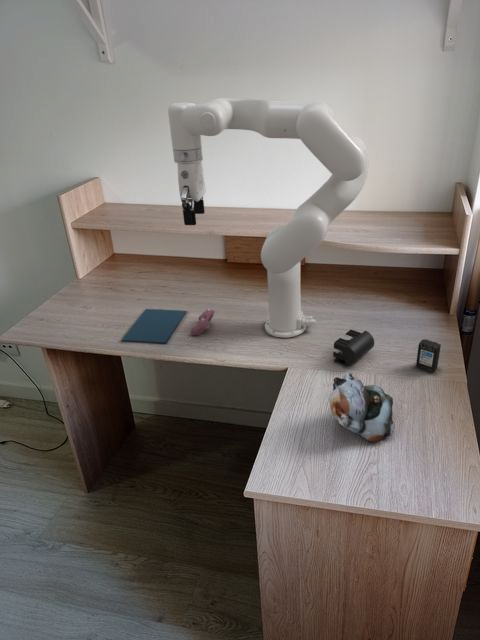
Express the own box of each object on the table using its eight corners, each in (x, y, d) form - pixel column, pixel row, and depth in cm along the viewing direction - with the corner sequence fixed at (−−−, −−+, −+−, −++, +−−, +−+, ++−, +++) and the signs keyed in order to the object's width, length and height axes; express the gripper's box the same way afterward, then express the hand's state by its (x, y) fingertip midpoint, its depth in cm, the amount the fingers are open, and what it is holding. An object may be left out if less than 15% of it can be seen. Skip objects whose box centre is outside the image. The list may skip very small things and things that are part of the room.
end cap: (354, 371, 137) (356, 349, 133) (332, 362, 141) (332, 341, 137) (373, 354, 143) (375, 333, 139) (351, 346, 147) (352, 325, 143)
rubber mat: (186, 312, 170) (186, 310, 170) (165, 344, 154) (165, 342, 153) (146, 310, 173) (146, 309, 172) (121, 341, 156) (121, 339, 156)
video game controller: (202, 341, 157) (210, 323, 153) (188, 334, 156) (196, 317, 153) (211, 325, 165) (219, 308, 161) (198, 318, 165) (205, 301, 161)
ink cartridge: (415, 367, 136) (418, 342, 132) (419, 363, 138) (422, 338, 134) (433, 373, 134) (437, 347, 129) (437, 369, 135) (441, 343, 131)
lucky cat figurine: (393, 448, 111) (368, 411, 103) (342, 452, 118) (315, 418, 110) (398, 392, 121) (375, 355, 113) (351, 399, 127) (326, 364, 119)
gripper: (193, 162, 127) (200, 229, 137) (209, 147, 142) (214, 209, 151) (164, 162, 128) (173, 229, 138) (182, 148, 143) (189, 209, 152)
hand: (194, 219), depth 144 cm, fingers open, 9 cm apart
